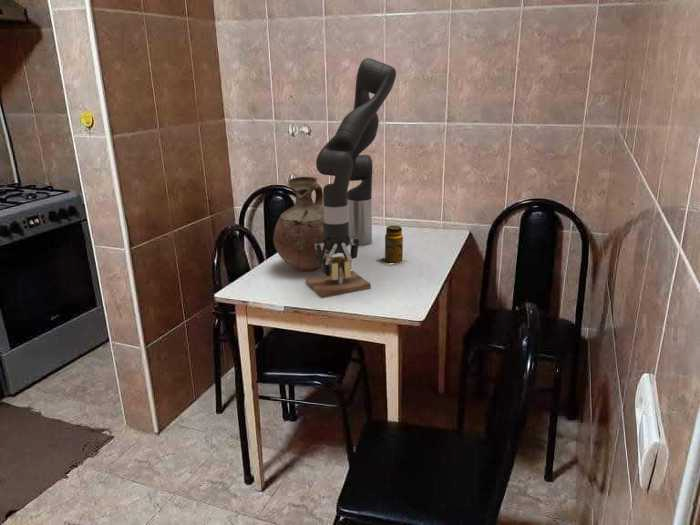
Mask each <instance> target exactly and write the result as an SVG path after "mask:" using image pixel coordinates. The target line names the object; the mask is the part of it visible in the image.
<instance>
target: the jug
mask: <svg viewBox="0 0 700 525" xmlns="http://www.w3.org/2000/svg"><path fill="white" fill-rule="evenodd" d="M287 182H288V187H289V188H290V189H291V191H292V192H294V194H295V203H294V205H293V206H291V207H289V208H288V209H287V210H285V211H284V212H282V213H281V214H280V215H279V218H278V220H277V222H276V225H275V227H274V230H273V239H272V241H273V245H274V249H275V250H276V252H277V253H278V256H279V257H280V258H281V259H282V260H283V261H284V262H285V263H286V264H288V265H289V266H291V267H293V268H294V269H296V270H297V271H300V272H307V273H308V272H310V273H311V272H315V271H318V270H320V269H321V268H323V264H320V263H319V262H318V261H317V259H316V253H315V248H314V244H315V243H317V244H318V243H321V242H323V240H324V229H323V206H324V205H323V187H322V186H321V184H319V182H318V179H317V177H315V176H305V175H304V176H295V177H292V178H289V179H288V181H287ZM313 192H314V193H315V199H314V200H315V201H313V197H312V194H313ZM321 251H322V256H323V258H324V253H325V251H326V248H325V246H323V250H321ZM329 253H330V252H329ZM334 255H335V254H333V256H334Z"/></svg>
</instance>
